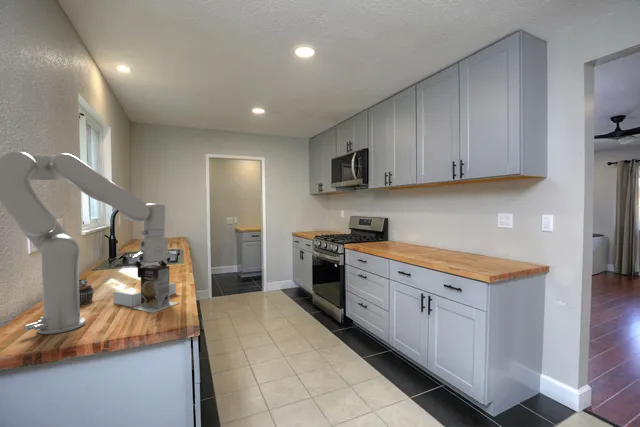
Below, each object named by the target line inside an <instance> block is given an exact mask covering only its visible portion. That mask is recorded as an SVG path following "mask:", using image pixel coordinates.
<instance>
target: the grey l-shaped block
mask: <svg viewBox="0 0 640 427" xmlns="http://www.w3.org/2000/svg"><path fill="white" fill-rule="evenodd" d="M175 293H176V282H173V283H169V296H173V295H175ZM172 294H173V295H172ZM112 296H113V302H112V303H113V304H116V305H121V306H125V307H130V308H134V307H137V306H140V305H141V291H140V292H137V293H128V292H123V291H117V290H114V291H112Z"/></svg>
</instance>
